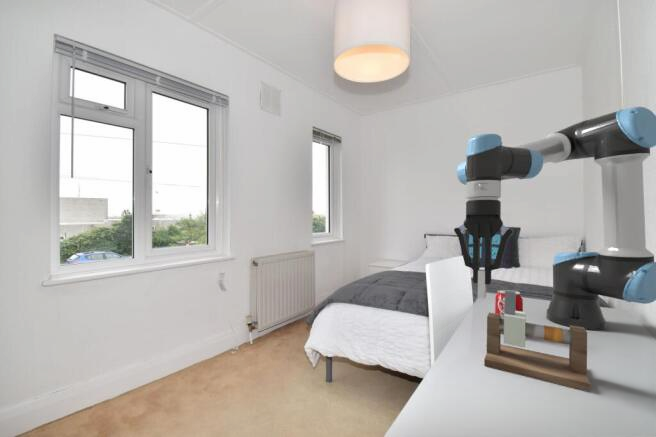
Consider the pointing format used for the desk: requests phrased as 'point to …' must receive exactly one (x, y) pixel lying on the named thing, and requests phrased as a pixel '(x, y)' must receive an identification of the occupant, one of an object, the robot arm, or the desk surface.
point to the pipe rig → (540, 354)
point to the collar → (513, 321)
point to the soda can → (501, 303)
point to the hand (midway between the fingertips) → (481, 297)
